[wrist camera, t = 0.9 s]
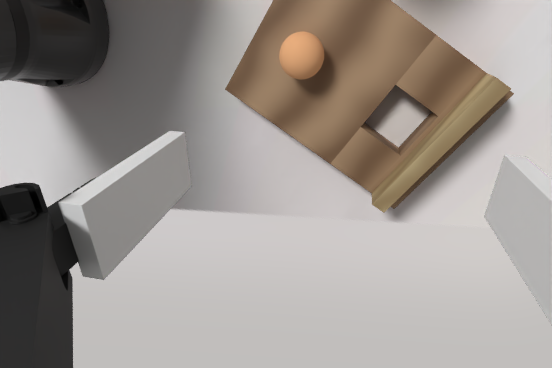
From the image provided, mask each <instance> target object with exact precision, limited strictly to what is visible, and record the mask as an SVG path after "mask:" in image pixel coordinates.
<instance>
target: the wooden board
mask: <svg viewBox="0 0 552 368" xmlns="http://www.w3.org/2000/svg"><path fill="white" fill-rule="evenodd" d="M301 31H304V32H309V33H311V34H313V35H315V36H316V37H317V38H318V39H319V40H320V42H321V43H322V45H323V48H324V61H323V64H322V67H321V68H320V70H319V71H318V72H317V73H316V74H315V75H314V76H312V77H310V78H308V79H302V80H301V79H295V78H292V77H290V76H289V75H288V74H286V73H285V71H284V70H283V68H282V67H281V64H280V60H279V53H280V48H281V46H282V44H283V42H284V41H285V39H286V38H287V37H288V36H290V35H291V34H293V33H296V32H301ZM395 85H397V86H398V87H399V88H401V89H402V90H403V91H405V92H406V93H408V94H409V95H410V96H412V97H413V98H414V99H416V100H417V101H418V102H420V103H421V104H422V105H424V106H425V107H427V108H428V109H429V110H431V111H432V112H431V113H430V114H429V115H428V117H427V118H426V119H425V120H424V121H423V122H422V123H421V124H420V125H419V126H418V127H417V128H416V129H415V131H414V132H413V133H412V134H411V135H410V136H409V137H408V138H407V139H406V140H405V141H404V142H403V144H402V145H401V146H400V147H399V148H398V147H397V146H396V145H394V144H393V143H391V142H390V141H389V140H387V139H386V138H385V137H383V136H382V135H380V134H379V133H378V132H376V131H375V130H373V129H372V128H371V127H369V126H368V125H367V124H365V123H364V122H365V121H366V120H367V119H368V118H369V116H370V115H371V114H372V113H373V111H374V110H375V109H376V108H377V107H378V105H379V104H380V103H381V102H382V101H383V99H384V98H385V97H386V96H387V94H388V93H389V92H390V91H391V90H392V88H393V87H394V86H395ZM225 90H227V91H228V92H230V93H231V94H232V95H234V96H235V97H237V98H238V99H240V100H241V101H242V102H244V103H245V104H247V105H248V106H249V107H251V108H252V109H254V110H255V111H256V112H258V113H259V114H261V115H262V116H264V117H265V118H266V119H268V120H269V121H271V122H272V123H273V124H275V125H276V126H278V127H279V128H280V129H282V130H283V131H285V132H286V133H288V134H289V135H290V136H292V137H293V138H295V139H296V140H297V141H299V142H300V143H302V144H303V145H304V146H306V147H307V148H309V149H310V150H311V151H313V152H314V153H316V154H317V155H319V156H320V157H321V158H323V159H324V160H326V161H327V162H328V163H330V164H331V165H333V166H334V167H335V168H337V169H338V170H340V171H341V172H343V173H344V174H345V175H347V176H348V177H350V178H351V179H352V180H354V181H355V182H357V183H358V184H359V185H361V186H362V187H364V188H365V189H367V190H368V191H369V192H371V193H372V205H374V206H375V207H377V208H378V209H379V210H381V211H382V212H385V211H386V210H387V209H388V208H389V207H392V208H393V209H395V208H396V207H397V206H398V205H399V204H400V203H401V202H402V201H403V200H404V199H405V198H406V197H407V196H408V195H409V194H410V193H411V192H412V191H413V190H414V189H415V188H416V187H417V186H418V185H419V184H421V183H422V182H423V181H424V180H425V179H426V178H427V177H428V176H429V175H430V174H431V173H432V172H433V171H434V170H435V169H436V168H437V167H438V166H439V165H440V164H441V163H442V162H443V161H444V160H445V159H447V158H448V157H449V156H450V155H451V154H452V153H453V152H454V151H455V150H456V149H457V148H458V147H459V146H460V145H461V144H462V143H463V142H464V141H465V140H466V139H467V138H468V137H469V136H470V135H472V134H473V133H474V132H475V131H476V130H477V129H478V128H479V127H480V126H481V125H482V124H483V123H484V122H485V121H486V120H487V119H488V118H489V117H490V116H491V115H492V114H493V113H494V112H495V111H496V110H498V109H499V108H500V107H501V106H502V105H503V104H504V103H505V102H506V101H507V100H508V99H509V98H510V97H511V96H512V95H513V94H514V93H512V92H511V91H510V90H511V88H510V87H508V86H507V85H506V84H504V83H503V82H502V81H500V80H499V79H498V78H496V77H494V76H492V75H490V74H487V73H486V72H485V71H483V70H482V69H481V68H479V67H478V66H477V65H475V64H474V63H473V62H471V61H470V60H469V59H467V58H466V57H465V56H463V55H462V54H461V53H459V52H458V51H457V50H455V49H454V48H453V47H451V46H450V45H449V44H447V43H446V42H445V41H444V40H442V39H441V38H440V37H438V36H437V35H436V34H434V33H433V32H432V31H430V30H429V29H428V28H426V27H425V26H424V25H422V24H421V23H420V22H418V21H417V20H416V19H414V18H413V17H412V16H410V15H409V14H408V13H406V12H405V11H404V10H402V9H401V8H400V7H399V6H397V5H396V4H395V3H393V2H392V1H391V0H273V2H272V4H271V6H270V7H269V9H268V11H267V13H266V15H265V17H264V19H263V20H262V22H261V24H260V26H259V28H258V30H257V32H256V33H255V35H254V37H253V39H252V41H251V43H250V44H249V46H248V48H247V50H246V52H245V54H244V56H243V57H242V59H241V61H240V63H239V65H238V67H237V69H236V70H235V72H234V74H233V76H232V78H231V80H230V81H229V83H228V85H227V87H226V89H225Z"/></svg>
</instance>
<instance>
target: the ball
mask: <svg viewBox="0 0 552 368" xmlns="http://www.w3.org/2000/svg"><path fill="white" fill-rule="evenodd" d="M279 60H280V64H281V67H282V68H283V70H284V71H285V73H286V74H288V75H289V76H290V77H292V78H295V79H301V80H302V79H308V78H310V77H312V76H314V75H315V74H316V73H317V72H318V71H319V70H320V68H321V67H322V64H323V61H324V48H323V45H322V43H321V42H320V40H319V39H318V38H317V37H316V36H315V35H313V34H311V33H309V32H304V31H301V32H296V33H293V34H291V35H290V36H288V37H287V38H286V39H285V41H284V42H283V44H282V46H281V48H280V53H279Z"/></svg>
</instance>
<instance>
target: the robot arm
mask: <svg viewBox="0 0 552 368" xmlns="http://www.w3.org/2000/svg"><path fill="white" fill-rule="evenodd" d="M108 40H109V29H108V20H107V15H106V11H105V7H104V4H103V1H102V0H0V81H4V80H12V81H18V82H24V83H30V84H36V85H42V86H49V87H64V86H69V85H73V84H78V83H81V82H84V81H86V80H88V79H90V78H91V77H92V76H93V75H94V74H96V72H97V71H98V70H99V69H100V67H101V65H102V64H103V61H104V59H105V56H106V53H107V48H108ZM191 187H192V184H191V176H190V168H189V160H188V152H187V144H186V136H185V132H176V131H169V132H167V133H166V134H164V135H162V136H161V137H159V138H158V139H156V140H155V141H153V142H152V143H150V144H148V145H147V146H145V147H144V148H142V149H141V150H139V151H138V152H136V153H134V154H133V155H131V156H130V157H128V158H127V159H125V160H124V161H122V162H120V163H119V164H117V165H116V166H114V167H113V168H111V169H110V170H108V171H106V172H105V173H103V174H102V175H100V176H99V177H97V178H94V179H92V180H90V181H88V182H87V183H85V184H84V185H82V186H81V188H77V189H76V190H74V191H73V193H70V194H68V195H66V196H65V197H63V198H62V199H60V200H59V201H57V202H55V203H54V204H52V205H51V206H49V207H48V208H47V206H46V204H45V201H44V198H43V195H42V192H41V189H40V187H39V185H37V184H35V183H20V184H13V185H9V186H5V187H2V188H0V368H73V318H72V317H73V316H72V315H73V312H72V311H73V309H72V307H73V306H72V305H73V303H72V276H71V274H70V271H69V269H70V268H72V267H73V266H74V265H75V264H76V263H77V262H78V263H79V266H80V269H81V272H82V275H83V276H85V277H90V278H96V279H102V280H104V279H105V278H106V277H107V276H108V275H109V274H110V273H111V272H112V271H113V270H114V268H115V267H116V266H117V265H118V264H119V263H120V262H121V261H122V260H123V259H124V258H125V257H126V256H127V254H128V253H130V251H131V250H132V249H133V248H134V247H135V246H136V245H137V244H138V243H139V242H140V241H141V240H142V239H143V238H144V237H145V236H146V234H147V233H148V232H149V231H150V230H151V229H152V228H153V227H154V226H155V225H156V224H157V223H158V222H159V221H160V220H161V218H162V217H163V216H164V215H165V214H166V213H167V212H168V211H169V210H170V209H171V208H172V207H173V206H174V205H175V204H176V202H177V201H178V200H179V199H180V198H181V197H182V196H183V195H184V194H185V193H186V192H187V191H188V190H189V189H190V188H191ZM484 217H485V219H486V220H487V222H488V223H489V225H490V227H491V228H492V230H493V231H494V233H495V234H496V236H497V238H498V239H499V241H500V242H501V244H502V246H503V248H504V249H505V251H506V252H507V254H508V256H509V257H510V259H511V260H512V262H513V264H514V265H515V267H516V268H517V270H518V272H519V273H520V275H521V277H522V278H523V280H524V281H525V283H526V285H527V286H528V288H529V289H530V291H531V293H532V294H533V296H534V297H535V299H536V301H537V302H538V304H539V306H540V307H541V309H542V310H543V312H544V314H545V315H546V317H547V318H548V320H549V322H550V323H551V325H552V178H551V177H550V176H549V175H547V174H546V173H545V172H544V171H543V170H542V169H540V168H539V167H538V166H537V165H536V164H535V163H533V162H532V161H531V160H530V159H529V158H528V157H522V156H508V155H504V158H503V161H502V164H501V167H500V170H499V173H498V176H497V179H496V182H495V185H494V188H493V191H492V194H491V197H490V200H489V203H488V206H487V209H486V212H485V215H484Z"/></svg>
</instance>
